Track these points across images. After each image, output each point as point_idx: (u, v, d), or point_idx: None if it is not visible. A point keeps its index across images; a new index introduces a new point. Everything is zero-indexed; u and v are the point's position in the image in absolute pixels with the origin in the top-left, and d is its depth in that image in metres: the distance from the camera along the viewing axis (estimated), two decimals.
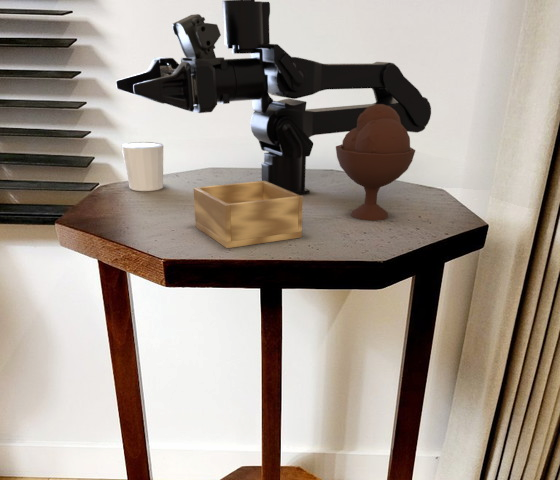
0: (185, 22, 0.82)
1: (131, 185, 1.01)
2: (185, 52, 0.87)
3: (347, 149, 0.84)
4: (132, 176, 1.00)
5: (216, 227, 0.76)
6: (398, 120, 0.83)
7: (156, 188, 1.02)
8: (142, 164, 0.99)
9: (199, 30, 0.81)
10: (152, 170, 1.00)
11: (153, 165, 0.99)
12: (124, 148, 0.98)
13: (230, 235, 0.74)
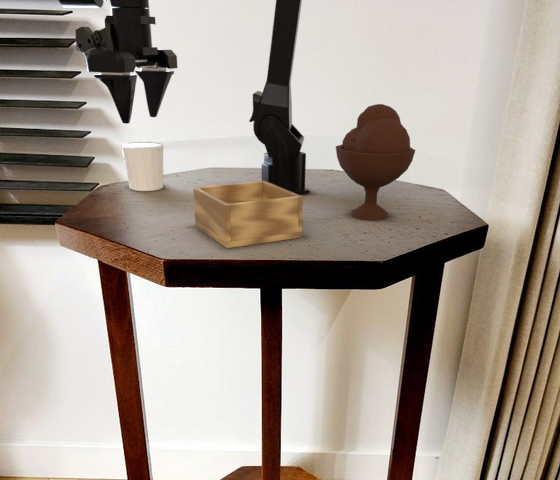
0: (85, 57, 0.94)
1: (131, 185, 1.01)
2: None
3: (347, 149, 0.84)
4: (132, 176, 1.00)
5: (216, 227, 0.76)
6: (398, 120, 0.83)
7: (156, 188, 1.02)
8: (142, 164, 0.99)
9: (81, 49, 0.91)
10: (152, 170, 1.00)
11: (153, 165, 0.99)
12: (124, 148, 0.98)
13: (230, 235, 0.74)
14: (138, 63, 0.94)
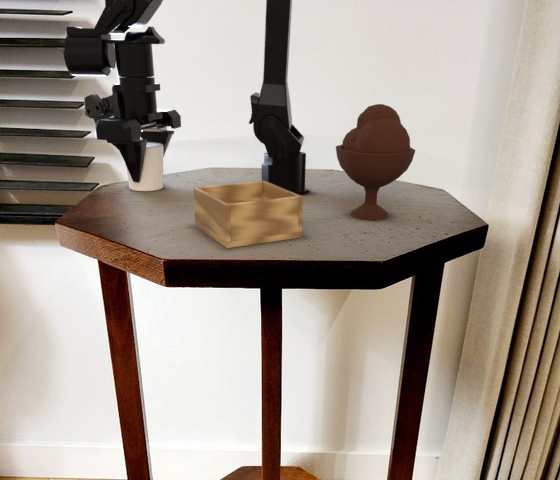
0: (93, 120, 0.99)
1: (131, 185, 1.01)
2: None
3: (347, 149, 0.84)
4: None
5: (216, 227, 0.76)
6: (398, 120, 0.83)
7: (156, 188, 1.02)
8: None
9: (89, 115, 0.96)
10: (152, 170, 1.00)
11: (153, 165, 0.99)
12: None
13: (230, 235, 0.74)
14: (144, 126, 0.99)
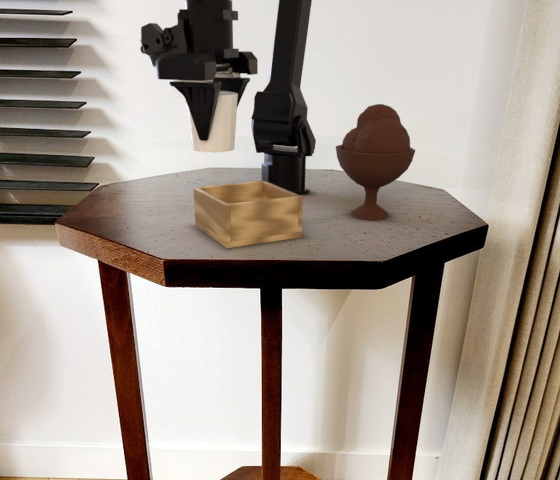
0: (150, 60, 0.77)
1: (195, 145, 0.79)
2: None
3: (347, 149, 0.84)
4: None
5: (216, 227, 0.76)
6: (398, 120, 0.83)
7: (227, 149, 0.80)
8: None
9: (147, 51, 0.74)
10: (224, 125, 0.78)
11: (225, 118, 0.77)
12: None
13: (230, 235, 0.74)
14: None
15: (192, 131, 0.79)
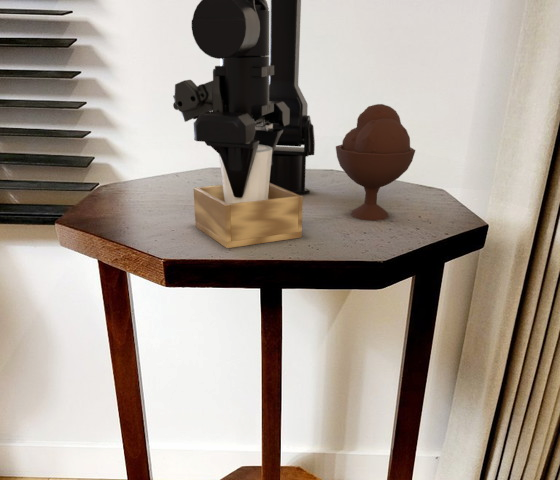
0: (182, 115, 0.74)
1: (229, 201, 0.77)
2: None
3: (347, 149, 0.84)
4: None
5: (216, 227, 0.76)
6: (398, 120, 0.83)
7: None
8: None
9: (181, 109, 0.71)
10: (259, 181, 0.75)
11: (261, 175, 0.75)
12: None
13: (230, 235, 0.74)
14: None
15: (226, 187, 0.76)
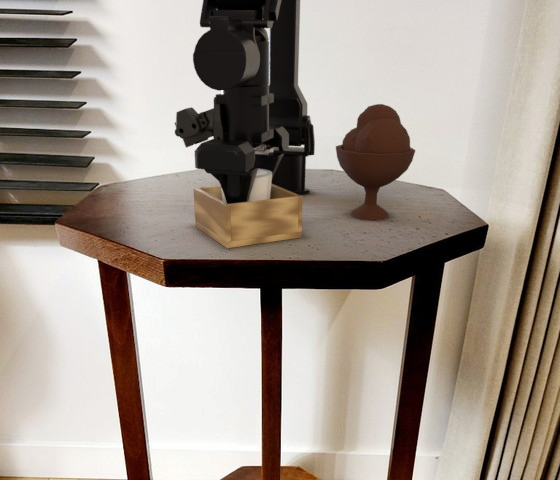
0: None
1: None
2: None
3: (347, 149, 0.84)
4: None
5: (216, 227, 0.76)
6: (398, 120, 0.83)
7: None
8: None
9: (182, 135, 0.73)
10: None
11: (261, 199, 0.76)
12: None
13: (230, 235, 0.74)
14: None
15: None
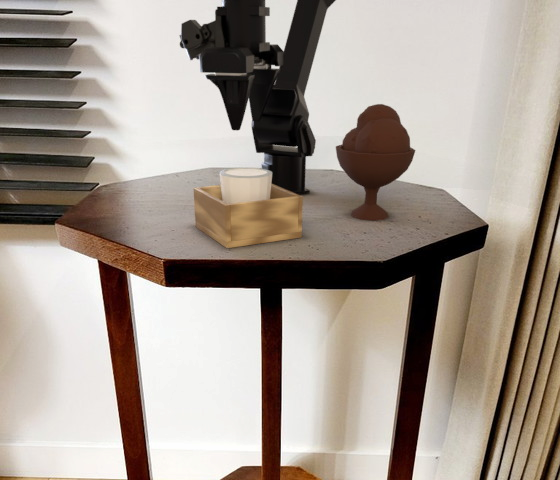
0: None
1: None
2: None
3: (347, 149, 0.84)
4: None
5: (216, 227, 0.76)
6: (398, 120, 0.83)
7: None
8: (248, 198, 0.75)
9: (187, 46, 0.80)
10: None
11: (261, 199, 0.76)
12: (224, 177, 0.75)
13: (230, 235, 0.74)
14: None
15: None
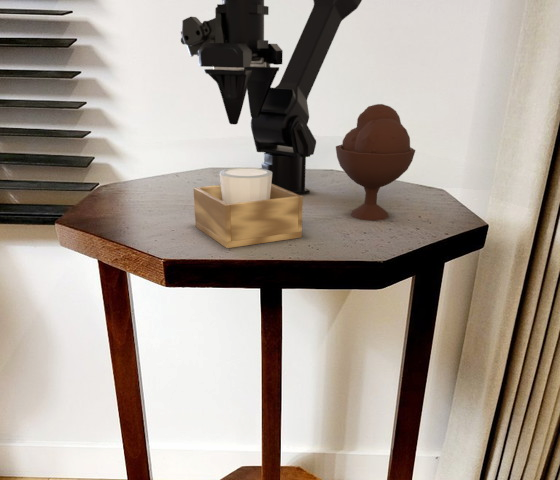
0: (188, 50, 0.85)
1: None
2: None
3: (347, 149, 0.84)
4: None
5: (216, 227, 0.76)
6: (398, 120, 0.83)
7: None
8: (248, 198, 0.75)
9: (187, 42, 0.82)
10: None
11: (261, 199, 0.76)
12: (224, 177, 0.75)
13: (230, 235, 0.74)
14: None
15: None
